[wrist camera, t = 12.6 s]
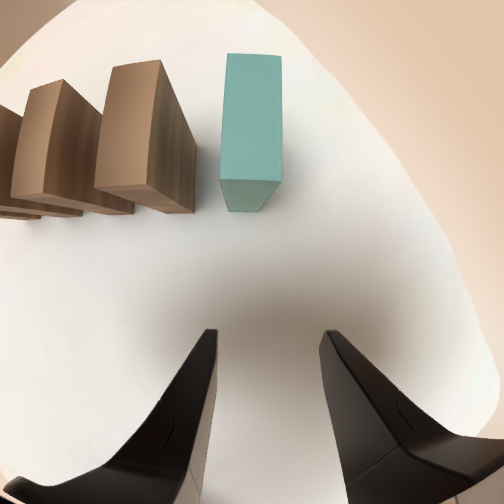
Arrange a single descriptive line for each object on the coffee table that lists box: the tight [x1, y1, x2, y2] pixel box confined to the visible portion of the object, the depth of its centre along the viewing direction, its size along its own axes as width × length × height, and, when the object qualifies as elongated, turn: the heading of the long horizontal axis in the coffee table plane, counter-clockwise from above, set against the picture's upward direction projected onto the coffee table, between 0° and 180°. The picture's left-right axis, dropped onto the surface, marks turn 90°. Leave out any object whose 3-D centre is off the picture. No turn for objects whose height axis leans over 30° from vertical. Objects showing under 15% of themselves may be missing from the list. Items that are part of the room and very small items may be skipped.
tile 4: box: [94, 60, 196, 214], centre depth 14 cm, size 2×5×11 cm, turn 0°
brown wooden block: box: [11, 79, 134, 215], centre depth 14 cm, size 2×5×11 cm, turn 0°
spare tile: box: [219, 53, 282, 212], centre depth 15 cm, size 2×5×11 cm, turn 179°
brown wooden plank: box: [0, 105, 82, 218], centre depth 14 cm, size 2×5×11 cm, turn 0°
